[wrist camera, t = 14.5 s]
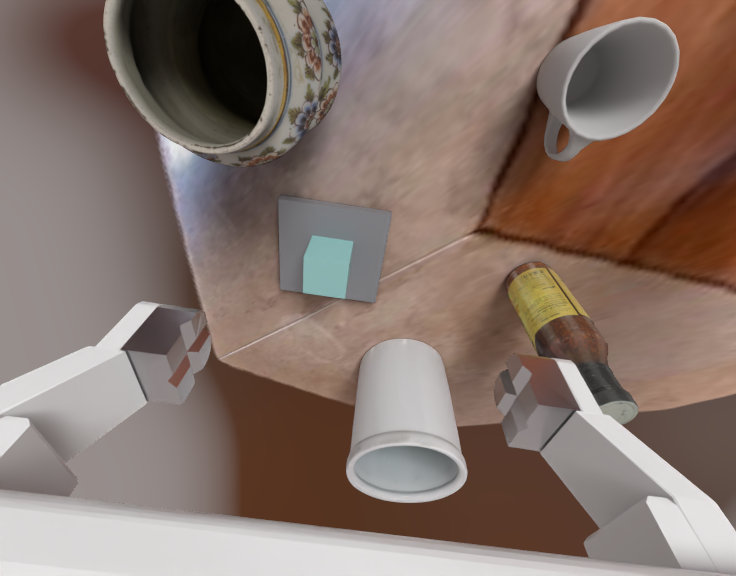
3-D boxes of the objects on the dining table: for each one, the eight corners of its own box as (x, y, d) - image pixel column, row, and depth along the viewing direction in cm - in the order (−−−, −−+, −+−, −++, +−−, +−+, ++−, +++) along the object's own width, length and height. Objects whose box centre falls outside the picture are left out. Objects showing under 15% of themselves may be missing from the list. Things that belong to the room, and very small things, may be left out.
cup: (634, 34, 29) (709, 34, 22) (568, 153, 35) (611, 181, 28) (552, 10, 28) (602, 1, 22) (499, 134, 34) (525, 159, 28)
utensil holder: (387, 319, 50) (385, 430, 36) (467, 358, 54) (494, 471, 40) (341, 374, 58) (325, 482, 44) (414, 404, 62) (420, 512, 48)
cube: (353, 241, 41) (349, 263, 37) (349, 275, 44) (344, 298, 40) (312, 235, 41) (303, 256, 37) (311, 269, 44) (302, 292, 40)
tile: (391, 211, 40) (391, 215, 39) (375, 297, 48) (374, 302, 47) (280, 194, 39) (278, 198, 38) (282, 284, 47) (280, 289, 46)
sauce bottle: (495, 292, 46) (550, 428, 30) (519, 253, 42) (596, 385, 26) (539, 303, 47) (616, 442, 31) (566, 266, 43) (670, 402, 27)
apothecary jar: (327, -54, 27) (251, -159, 13) (361, 111, 34) (339, 167, 19) (192, -9, 29) (-5, -54, 15) (251, 138, 36) (156, 206, 21)
